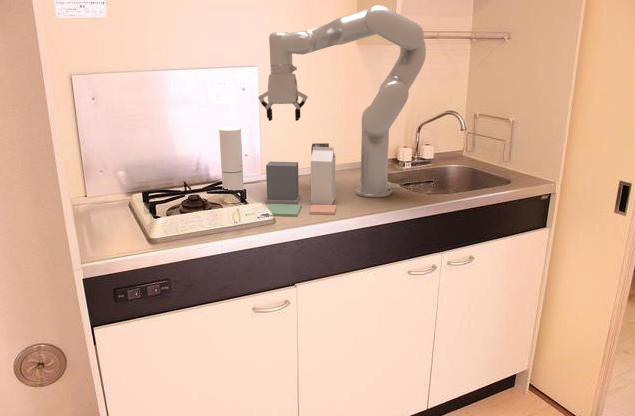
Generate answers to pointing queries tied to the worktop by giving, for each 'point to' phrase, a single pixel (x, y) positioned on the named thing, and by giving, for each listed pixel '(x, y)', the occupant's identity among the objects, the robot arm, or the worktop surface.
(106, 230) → the worktop surface
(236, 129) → the cylindrical container
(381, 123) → the robot arm
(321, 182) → the milk carton
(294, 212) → the green mat
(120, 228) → the worktop surface
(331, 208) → the terracotta tile
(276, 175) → the wall box
